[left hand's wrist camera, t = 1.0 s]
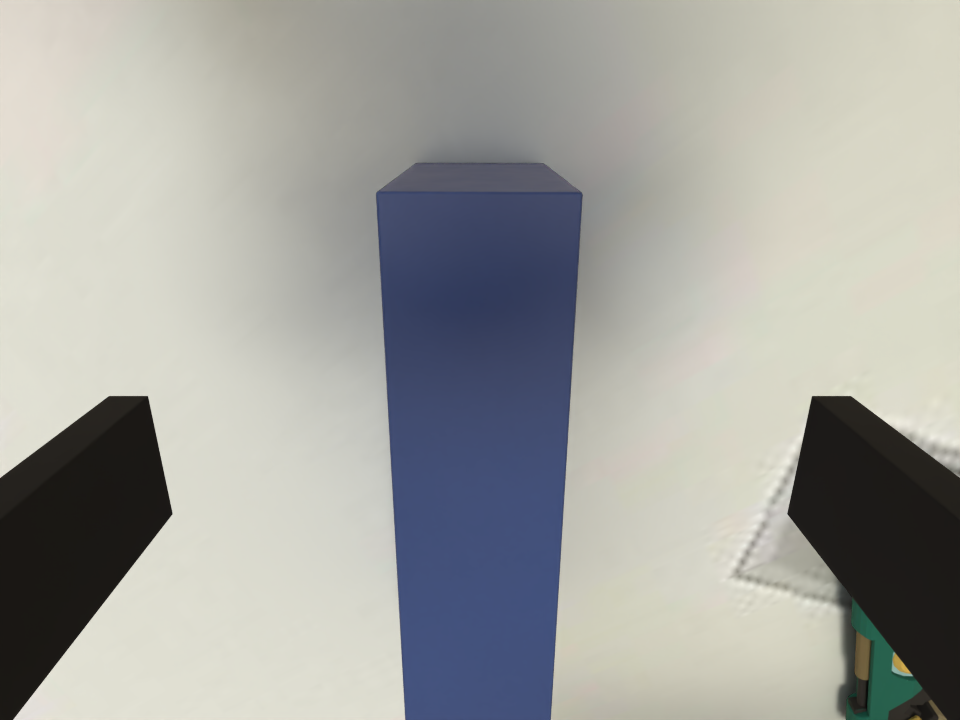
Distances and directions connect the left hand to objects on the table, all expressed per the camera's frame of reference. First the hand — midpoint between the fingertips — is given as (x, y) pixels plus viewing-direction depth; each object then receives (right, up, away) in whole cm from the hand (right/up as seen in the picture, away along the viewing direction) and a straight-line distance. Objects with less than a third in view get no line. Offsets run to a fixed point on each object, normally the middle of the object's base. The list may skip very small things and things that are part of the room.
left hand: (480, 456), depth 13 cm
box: (0, -1, +22) cm, 22 cm away
